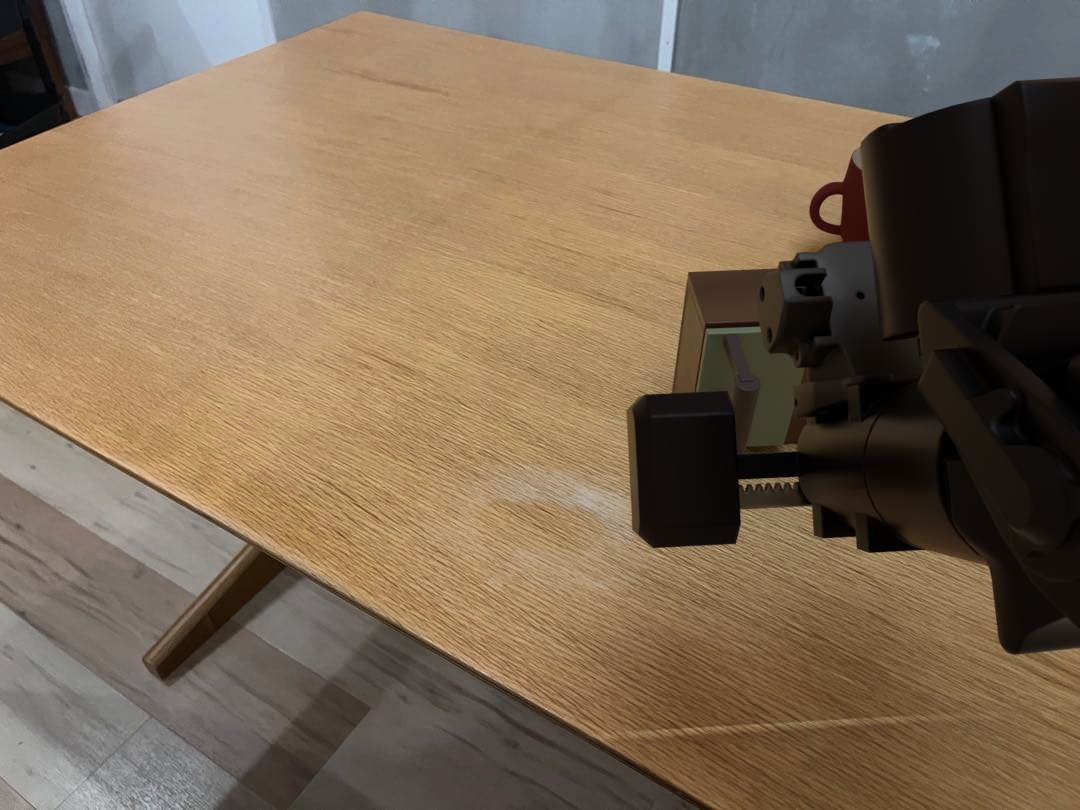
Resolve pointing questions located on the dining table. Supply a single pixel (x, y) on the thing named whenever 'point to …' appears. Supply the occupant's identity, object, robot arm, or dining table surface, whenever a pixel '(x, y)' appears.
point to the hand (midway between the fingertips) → (788, 456)
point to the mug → (845, 204)
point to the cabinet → (719, 323)
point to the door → (750, 383)
